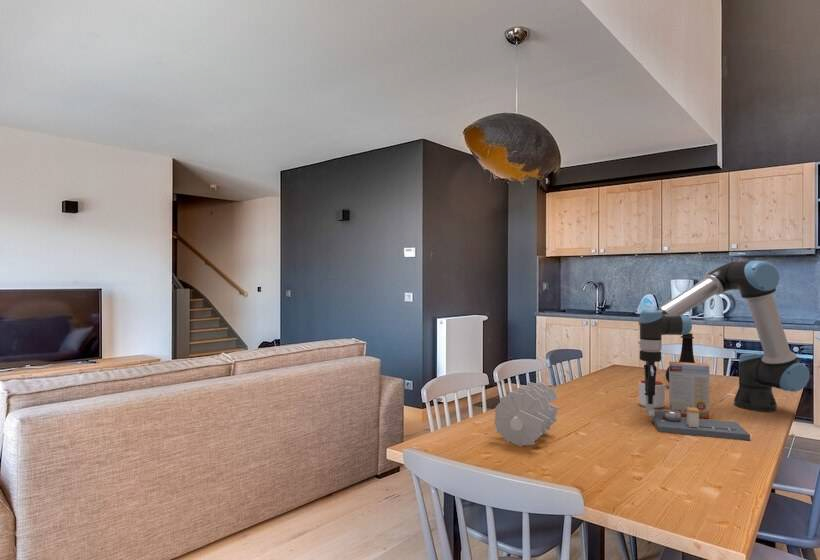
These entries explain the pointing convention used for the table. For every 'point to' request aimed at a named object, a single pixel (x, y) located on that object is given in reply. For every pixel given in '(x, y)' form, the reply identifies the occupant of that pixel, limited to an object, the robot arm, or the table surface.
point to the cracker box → (689, 387)
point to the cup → (658, 397)
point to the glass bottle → (685, 351)
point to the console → (703, 428)
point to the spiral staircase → (526, 413)
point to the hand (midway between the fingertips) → (649, 411)
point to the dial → (666, 414)
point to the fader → (692, 417)
